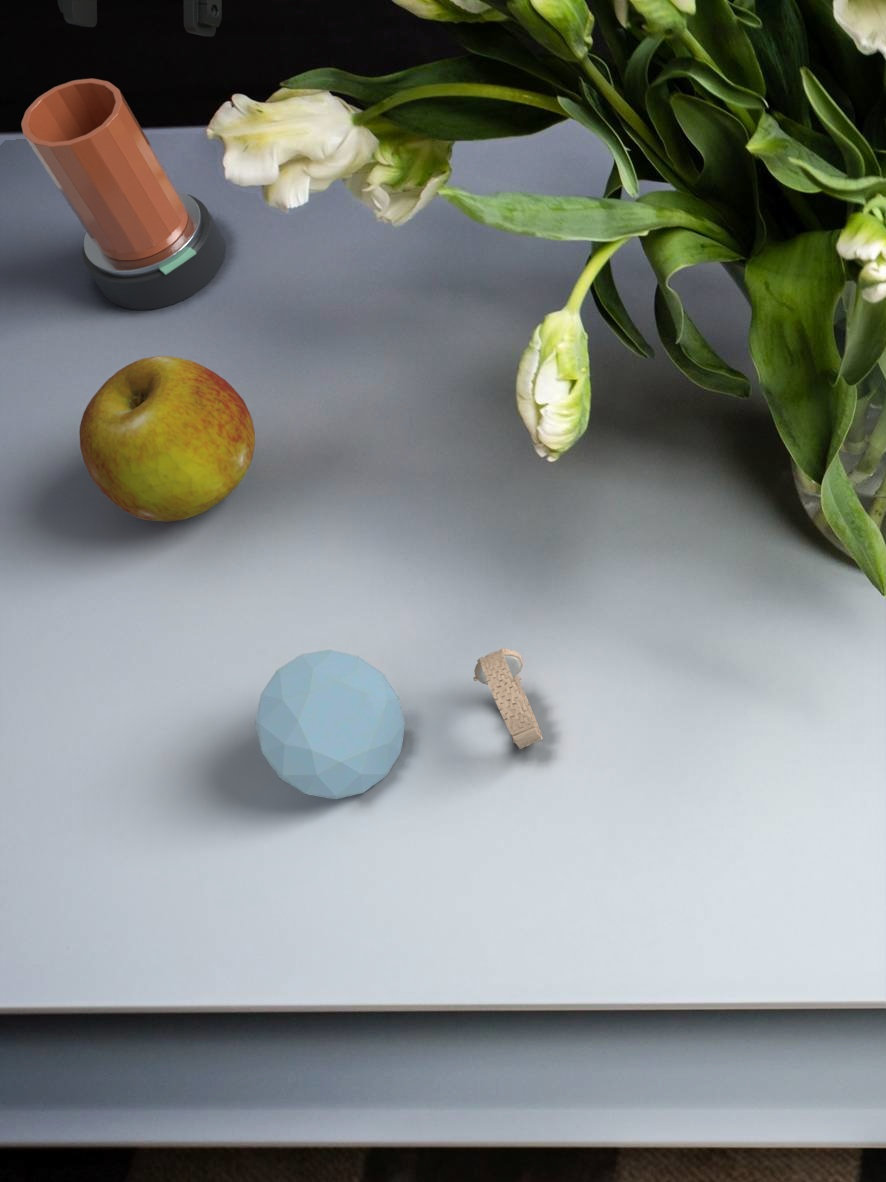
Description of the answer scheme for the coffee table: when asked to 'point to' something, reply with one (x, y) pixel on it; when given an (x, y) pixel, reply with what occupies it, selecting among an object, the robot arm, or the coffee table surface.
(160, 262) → the scale
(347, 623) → the coffee table surface
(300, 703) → the gemstone
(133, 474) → the fruit
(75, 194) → the cup
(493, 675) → the wristwatch
